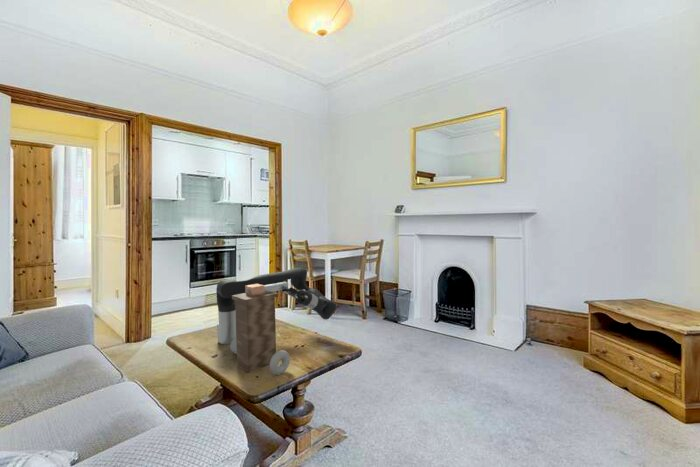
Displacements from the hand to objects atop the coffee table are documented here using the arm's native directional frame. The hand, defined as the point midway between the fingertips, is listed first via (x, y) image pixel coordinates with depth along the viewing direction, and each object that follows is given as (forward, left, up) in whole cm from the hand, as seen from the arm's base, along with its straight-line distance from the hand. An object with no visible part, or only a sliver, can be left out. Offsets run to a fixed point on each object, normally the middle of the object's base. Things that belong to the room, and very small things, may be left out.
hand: (284, 287), depth 159 cm
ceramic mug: (-20, -5, -33) cm, 39 cm away
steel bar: (-4, -7, -1) cm, 8 cm away
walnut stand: (-7, -14, -33) cm, 36 cm away
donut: (+8, -19, -33) cm, 38 cm away
